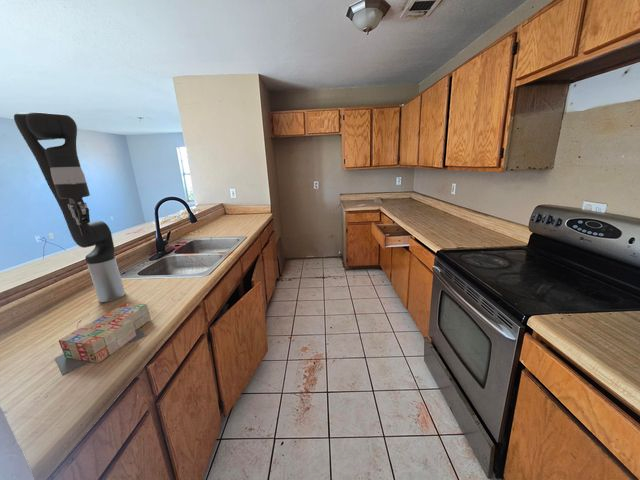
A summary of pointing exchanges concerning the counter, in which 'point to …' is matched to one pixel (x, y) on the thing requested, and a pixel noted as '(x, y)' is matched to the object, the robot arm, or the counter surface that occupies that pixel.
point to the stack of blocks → (105, 333)
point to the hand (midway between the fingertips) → (86, 235)
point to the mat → (72, 364)
